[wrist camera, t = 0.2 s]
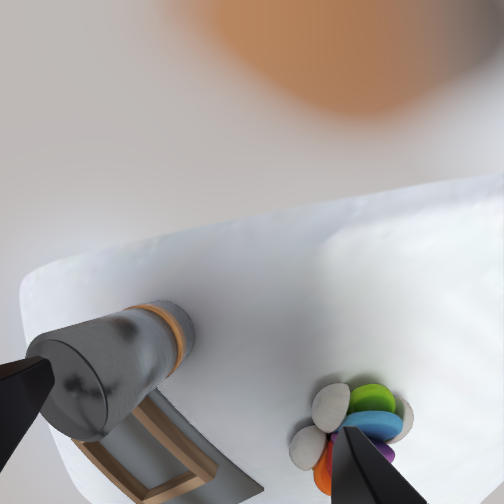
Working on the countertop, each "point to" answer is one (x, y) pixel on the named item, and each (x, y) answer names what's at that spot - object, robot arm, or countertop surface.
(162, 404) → the picture frame
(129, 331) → the grey metal cylinder
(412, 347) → the countertop surface
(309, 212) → the countertop surface
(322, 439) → the multicolored petal flower
